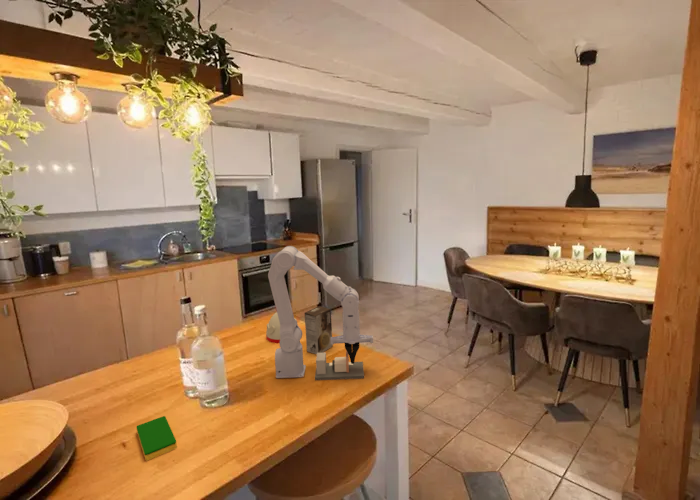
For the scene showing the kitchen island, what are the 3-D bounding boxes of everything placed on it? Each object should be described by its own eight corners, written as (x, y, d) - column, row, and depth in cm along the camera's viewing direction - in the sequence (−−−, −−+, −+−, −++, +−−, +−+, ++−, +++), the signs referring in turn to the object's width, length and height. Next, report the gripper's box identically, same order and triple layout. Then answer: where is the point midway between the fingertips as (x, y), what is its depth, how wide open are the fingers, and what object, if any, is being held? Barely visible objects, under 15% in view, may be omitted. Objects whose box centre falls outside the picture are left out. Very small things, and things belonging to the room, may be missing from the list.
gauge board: (314, 380, 124) (314, 363, 123) (317, 365, 134) (316, 350, 133) (364, 378, 124) (363, 361, 123) (362, 364, 134) (362, 348, 133)
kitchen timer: (277, 346, 152) (274, 311, 149) (260, 336, 162) (258, 304, 159) (305, 336, 161) (303, 303, 158) (287, 327, 171) (285, 296, 169)
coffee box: (321, 343, 153) (319, 305, 151) (333, 346, 150) (331, 308, 147) (306, 351, 146) (303, 312, 143) (318, 355, 142) (316, 315, 140)
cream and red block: (332, 373, 126) (331, 358, 125) (333, 362, 133) (332, 349, 132) (348, 372, 126) (348, 358, 125) (348, 361, 133) (348, 348, 132)
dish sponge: (165, 423, 105) (164, 415, 105) (177, 449, 94) (176, 441, 94) (137, 433, 101) (136, 425, 100) (146, 462, 90) (144, 453, 89)
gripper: (329, 330, 122) (331, 368, 125) (373, 328, 122) (374, 367, 125) (330, 322, 129) (331, 359, 132) (371, 321, 129) (372, 357, 132)
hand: (352, 362), depth 129 cm, fingers closed
